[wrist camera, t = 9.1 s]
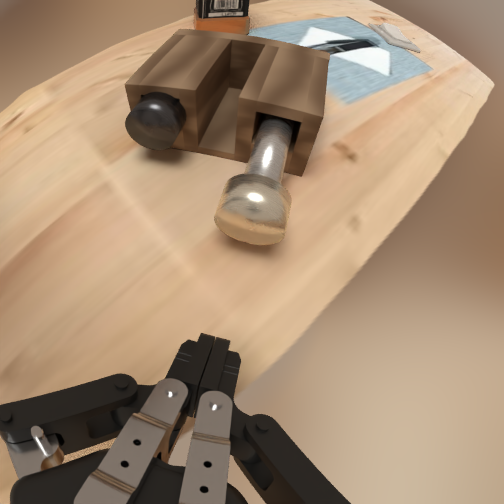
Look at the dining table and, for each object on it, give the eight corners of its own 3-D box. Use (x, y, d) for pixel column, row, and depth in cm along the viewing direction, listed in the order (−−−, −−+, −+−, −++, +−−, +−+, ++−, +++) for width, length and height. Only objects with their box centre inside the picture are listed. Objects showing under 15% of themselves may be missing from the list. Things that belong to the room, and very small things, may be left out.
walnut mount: (138, 142, 33) (123, 84, 25) (182, 78, 39) (179, 28, 31) (302, 176, 33) (324, 117, 25) (314, 103, 39) (329, 53, 31)
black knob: (131, 146, 29) (120, 107, 24) (182, 73, 35) (180, 40, 30) (178, 153, 29) (172, 113, 24) (220, 78, 35) (221, 44, 30)
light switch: (399, 24, 59) (424, 43, 53) (395, 35, 63) (419, 54, 57) (369, 15, 57) (393, 33, 52) (365, 27, 61) (388, 46, 55)
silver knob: (214, 235, 26) (213, 198, 21) (253, 122, 32) (259, 83, 27) (278, 250, 26) (292, 217, 21) (301, 134, 32) (313, 96, 27)
